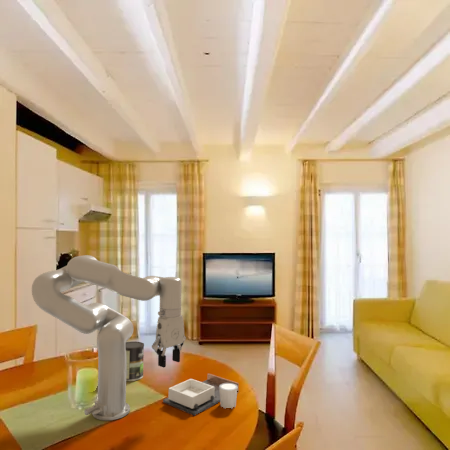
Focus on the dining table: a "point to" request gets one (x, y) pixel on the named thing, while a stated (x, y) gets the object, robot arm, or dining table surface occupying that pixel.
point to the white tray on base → (191, 393)
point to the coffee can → (134, 360)
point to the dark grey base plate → (216, 383)
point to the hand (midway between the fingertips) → (169, 363)
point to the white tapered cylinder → (228, 395)
